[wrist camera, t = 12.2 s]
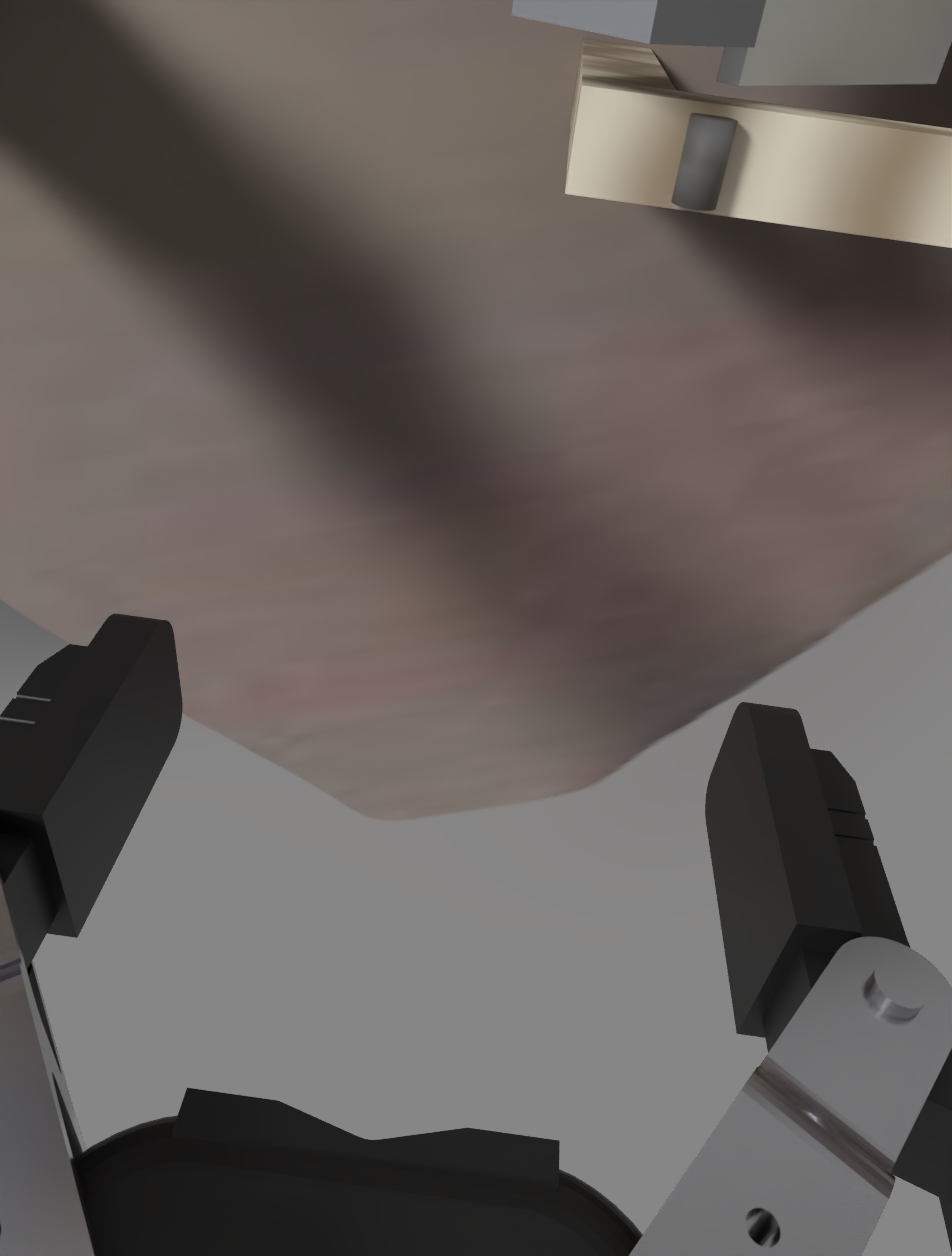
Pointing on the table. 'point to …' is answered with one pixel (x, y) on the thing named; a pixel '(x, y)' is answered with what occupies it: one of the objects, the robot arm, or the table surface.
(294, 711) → the table surface
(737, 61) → the grey flat block
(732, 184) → the stand
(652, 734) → the table surface
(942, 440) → the table surface
